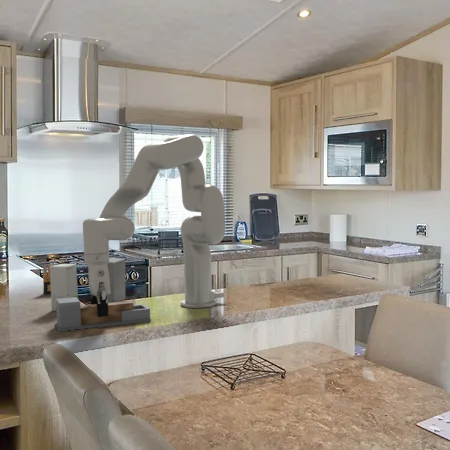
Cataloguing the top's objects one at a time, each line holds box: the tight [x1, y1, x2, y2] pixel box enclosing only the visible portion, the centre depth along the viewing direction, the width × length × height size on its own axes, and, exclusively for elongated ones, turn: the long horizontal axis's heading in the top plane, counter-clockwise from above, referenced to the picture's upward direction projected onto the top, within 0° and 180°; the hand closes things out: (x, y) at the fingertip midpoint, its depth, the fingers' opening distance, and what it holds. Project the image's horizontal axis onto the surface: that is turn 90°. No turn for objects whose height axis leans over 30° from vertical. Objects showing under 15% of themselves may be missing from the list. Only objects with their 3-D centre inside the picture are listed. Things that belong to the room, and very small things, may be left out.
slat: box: [80, 300, 134, 324], centre depth 174 cm, size 19×4×5 cm, turn 114°
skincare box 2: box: [106, 257, 126, 303], centre depth 206 cm, size 8×7×16 cm
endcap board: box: [54, 297, 152, 333], centre depth 174 cm, size 28×9×8 cm, turn 114°
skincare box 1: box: [50, 263, 79, 312], centre depth 195 cm, size 8×7×16 cm
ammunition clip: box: [42, 262, 69, 296], centre depth 225 cm, size 11×2×12 cm, turn 111°
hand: (99, 312), depth 174 cm, fingers open, 9 cm apart
